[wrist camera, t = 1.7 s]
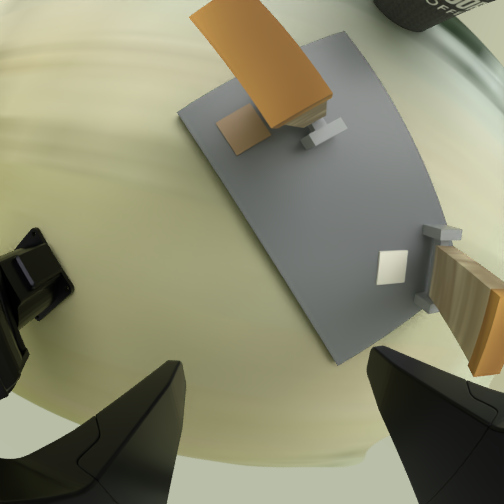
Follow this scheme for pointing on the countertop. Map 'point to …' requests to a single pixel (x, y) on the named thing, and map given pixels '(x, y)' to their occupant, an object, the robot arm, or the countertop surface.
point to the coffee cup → (424, 11)
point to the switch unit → (333, 198)
